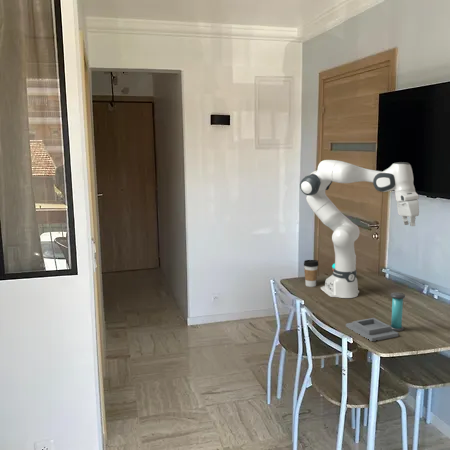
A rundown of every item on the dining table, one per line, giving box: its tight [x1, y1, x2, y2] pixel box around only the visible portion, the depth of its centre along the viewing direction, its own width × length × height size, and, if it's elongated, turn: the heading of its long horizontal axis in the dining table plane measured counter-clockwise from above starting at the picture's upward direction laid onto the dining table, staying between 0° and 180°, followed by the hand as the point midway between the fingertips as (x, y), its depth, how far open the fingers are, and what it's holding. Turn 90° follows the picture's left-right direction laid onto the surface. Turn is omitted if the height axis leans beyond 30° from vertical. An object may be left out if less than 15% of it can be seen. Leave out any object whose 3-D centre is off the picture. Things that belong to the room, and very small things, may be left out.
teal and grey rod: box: [388, 291, 406, 333], centre depth 208 cm, size 6×6×16 cm
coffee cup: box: [303, 259, 319, 288], centre depth 274 cm, size 8×8×15 cm
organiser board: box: [345, 317, 399, 342], centre depth 207 cm, size 18×14×4 cm
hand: (409, 225), depth 220 cm, fingers open, 8 cm apart
